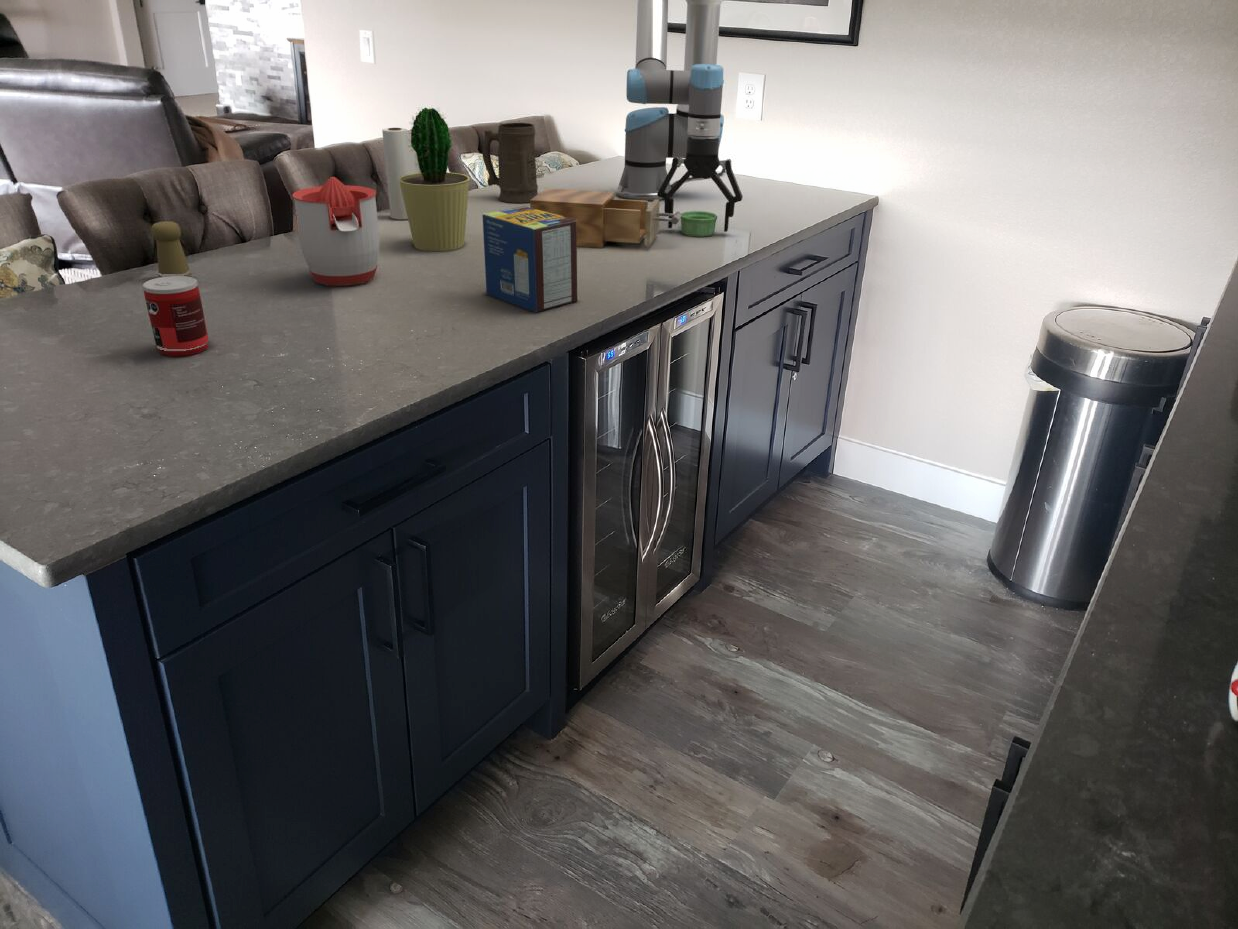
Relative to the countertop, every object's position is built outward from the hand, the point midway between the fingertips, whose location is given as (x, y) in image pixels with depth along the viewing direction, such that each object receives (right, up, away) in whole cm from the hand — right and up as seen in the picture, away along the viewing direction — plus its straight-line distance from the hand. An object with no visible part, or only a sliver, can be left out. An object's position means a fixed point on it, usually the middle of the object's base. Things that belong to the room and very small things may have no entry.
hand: (698, 228), depth 225 cm
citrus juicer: (-74, -20, -39) cm, 86 cm away
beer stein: (-49, +16, +32) cm, 61 cm away
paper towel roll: (-73, +5, +9) cm, 74 cm away
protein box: (-36, -25, -47) cm, 65 cm away
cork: (-108, -20, -40) cm, 117 cm away
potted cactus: (-60, -7, -14) cm, 62 cm away
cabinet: (-30, -4, -6) cm, 31 cm away
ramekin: (0, -1, +1) cm, 1 cm away
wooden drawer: (-16, -4, -9) cm, 19 cm away
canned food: (-90, -39, -75) cm, 123 cm away
